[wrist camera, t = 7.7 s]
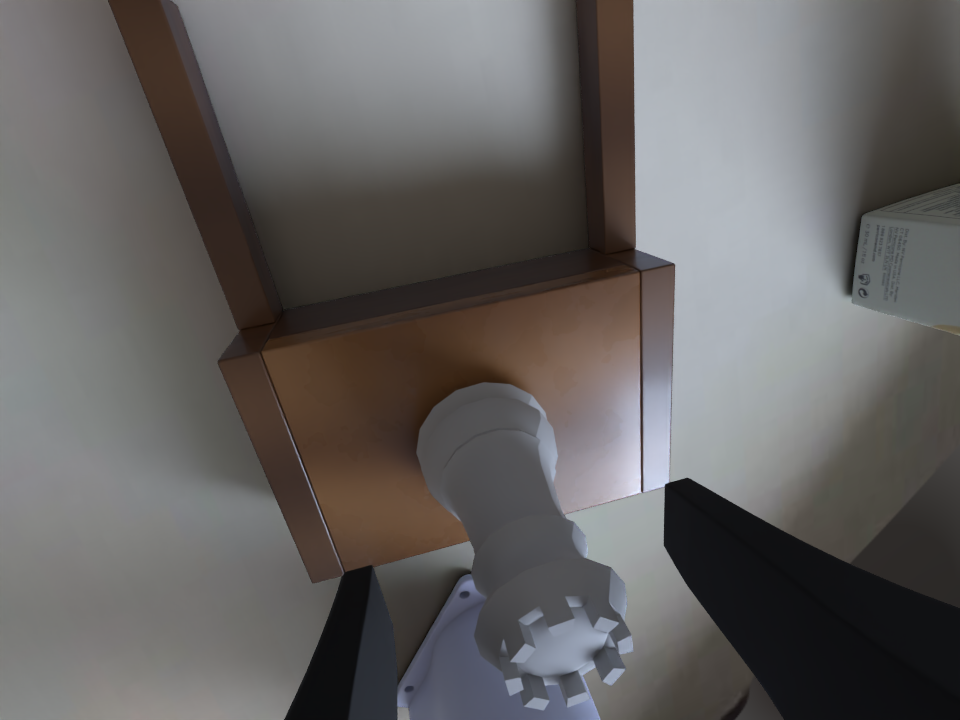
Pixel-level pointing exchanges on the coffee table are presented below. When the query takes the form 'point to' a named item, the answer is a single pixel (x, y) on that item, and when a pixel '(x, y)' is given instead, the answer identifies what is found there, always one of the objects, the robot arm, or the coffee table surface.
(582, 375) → the brown u-shaped piece
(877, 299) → the cosmetic box
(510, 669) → the rook chess piece
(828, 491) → the coffee table surface
